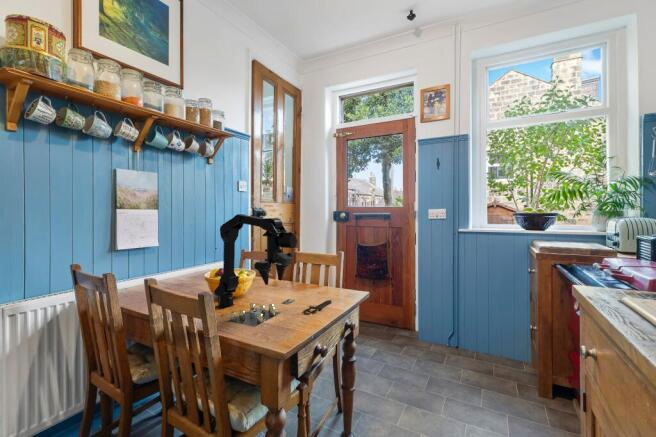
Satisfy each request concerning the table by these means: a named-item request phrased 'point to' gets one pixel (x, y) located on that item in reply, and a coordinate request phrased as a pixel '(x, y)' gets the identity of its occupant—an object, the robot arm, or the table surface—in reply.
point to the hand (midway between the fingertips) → (273, 282)
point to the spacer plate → (246, 320)
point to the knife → (317, 308)
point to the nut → (254, 313)
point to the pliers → (287, 302)
